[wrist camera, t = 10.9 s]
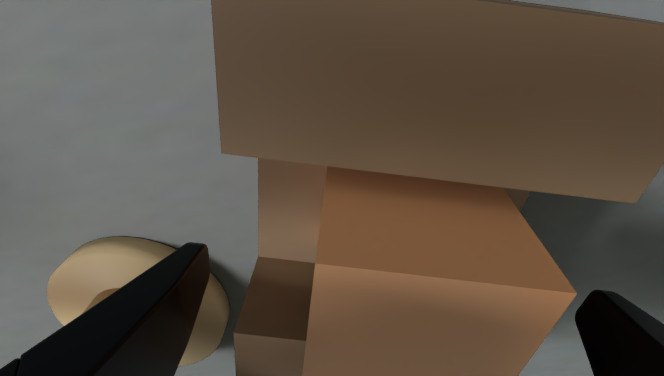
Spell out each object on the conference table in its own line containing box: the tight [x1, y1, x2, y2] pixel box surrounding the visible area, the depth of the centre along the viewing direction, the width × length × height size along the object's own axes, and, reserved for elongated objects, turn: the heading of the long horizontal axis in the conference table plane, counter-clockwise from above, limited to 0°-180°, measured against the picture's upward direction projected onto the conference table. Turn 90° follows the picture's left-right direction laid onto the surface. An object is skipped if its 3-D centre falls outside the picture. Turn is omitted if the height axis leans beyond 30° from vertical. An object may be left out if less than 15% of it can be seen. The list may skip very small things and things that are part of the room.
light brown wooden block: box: [302, 166, 577, 376], centre depth 8 cm, size 4×4×5 cm
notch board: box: [211, 0, 664, 376], centre depth 10 cm, size 12×8×4 cm
